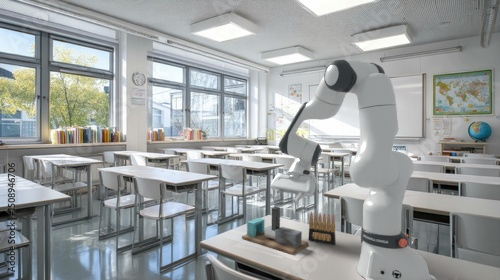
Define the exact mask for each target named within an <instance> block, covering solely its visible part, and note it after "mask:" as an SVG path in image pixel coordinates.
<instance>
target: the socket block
mask: <svg viewBox="0 0 500 280" xmlns="http://www.w3.org/2000/svg"><path fill="white" fill-rule="evenodd" d="M264 230H265V219H264V218H260V217H256V218H254V219H252V220H249V221H247V222H246V232H247V233H246V234H247V235H248V236H251V237H255V236H256V232H260V233H264Z"/></svg>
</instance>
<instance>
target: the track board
mask: <svg viewBox="0 0 500 280" xmlns="http://www.w3.org/2000/svg"><path fill="white" fill-rule="evenodd" d="M302 234H303V233H302V231H300V230H296V229H293V228H289V227H284V226H280V228H278V229H276V230H275V239H272V238H269V237H265V229H264V233H260V232H256V236H255V237H251V236H248V235H247V233H246V234H244V235H241V239H243V240H245V241H247V242H248V241H249V242H252V243H255V244H258V245H260V246H261V245H262V246H263V247H268V248H270V249H274V250H276V251H280V252H283V253H286V254H289V255H294V254H297V252H299V251H301V250H302V249H304V248H305V247H307V246H308V245H309V241H305V240H302V236H303V235H302ZM306 245H307V246H306ZM303 247H304V248H303Z"/></svg>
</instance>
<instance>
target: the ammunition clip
mask: <svg viewBox="0 0 500 280" xmlns="http://www.w3.org/2000/svg"><path fill="white" fill-rule="evenodd" d="M313 215H314V216H313ZM322 216H323V217H322ZM335 218H336V217H335V215H334V214H332V217H331V215H330V213H328V214H327V216H326V213H324V212H323V215H322V213H321V212H319V215H318V214H317V212H314V214H313V212H312V211H311V212H310V214H309V221H308V222H309V223H308V225H309V226H308V228H309V229H308V240H310V241H309V242H313V241H315V242H314V243H319V242H320V244H325V245H326V244H327V245H330V244H331V246H336V242H337V241H336V240H337V239H336V222H335V221H336V220H335Z"/></svg>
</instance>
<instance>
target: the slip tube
mask: <svg viewBox="0 0 500 280" xmlns="http://www.w3.org/2000/svg"><path fill="white" fill-rule="evenodd" d="M280 227H281V208H280V207H278V206H274V207H272V208H271V225H269V226H267V227H264V230H265V237H269V238H272V239H275V230H276V229H278V228H280Z"/></svg>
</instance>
